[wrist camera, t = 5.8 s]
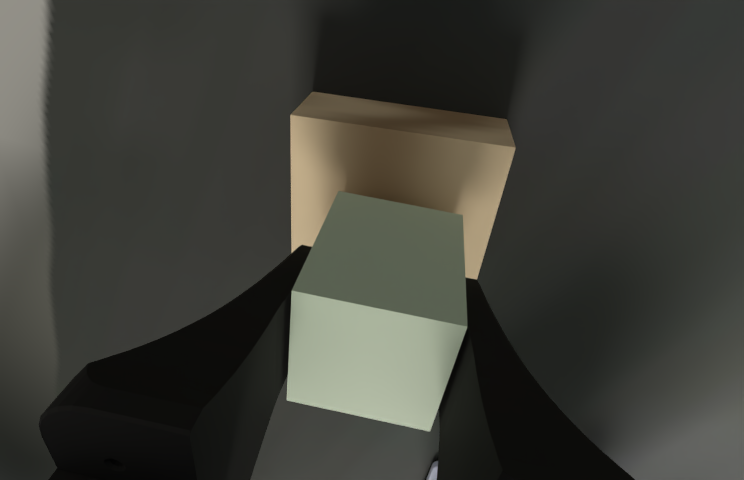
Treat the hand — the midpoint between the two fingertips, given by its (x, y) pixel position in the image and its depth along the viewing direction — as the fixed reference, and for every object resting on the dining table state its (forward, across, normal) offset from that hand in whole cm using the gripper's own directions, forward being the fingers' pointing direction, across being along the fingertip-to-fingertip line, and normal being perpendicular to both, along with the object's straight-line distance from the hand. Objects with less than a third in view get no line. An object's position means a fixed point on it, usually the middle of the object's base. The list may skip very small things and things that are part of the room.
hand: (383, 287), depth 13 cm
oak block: (+6, 0, 0) cm, 6 cm away
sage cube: (+2, 0, 0) cm, 2 cm away
